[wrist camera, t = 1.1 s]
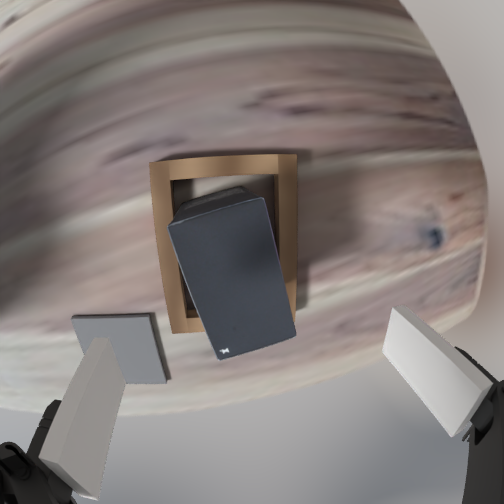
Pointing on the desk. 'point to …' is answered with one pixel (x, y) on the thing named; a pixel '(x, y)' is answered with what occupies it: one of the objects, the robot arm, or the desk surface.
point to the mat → (125, 344)
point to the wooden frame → (211, 167)
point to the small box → (233, 271)
